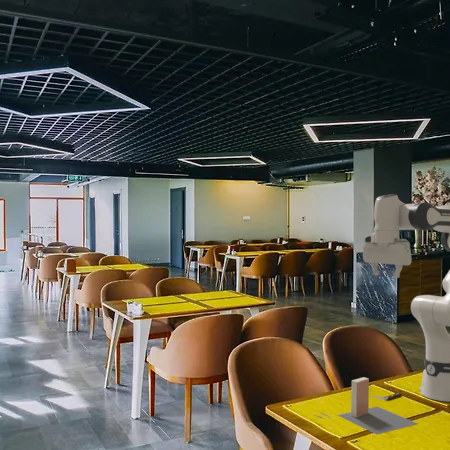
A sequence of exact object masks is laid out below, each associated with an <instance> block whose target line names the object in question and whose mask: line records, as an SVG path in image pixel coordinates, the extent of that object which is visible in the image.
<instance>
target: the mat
mask: <svg viewBox="0 0 450 450" xmlns="http://www.w3.org/2000/svg"><path fill="white" fill-rule="evenodd" d="M337 416H338V417H341V418H342V419H344V420H346V421H348V422H350V423H352V424H354V425H356V426H358V427H361V428H363V429H364V430H367V431H369V432H371V433H373V434H375V435H379V434H380V435H381V434H385V433H388V432H391V431H396V430H400V429H404V428H408V427H411V426H415V425H419V423H417V422H415V421H413V420H411V419H408V418H407V417H406V418H405V417H403V416H401V415H399V414H396V413H394V412H392V411H389V410H387V409H384V408H382V407H380V406H373V407H372V406H371V407H369V409H368V413H367V414H364V415H362V416H359V417H353V416H351V411H350V412H346V413H340V414H337Z"/></svg>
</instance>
